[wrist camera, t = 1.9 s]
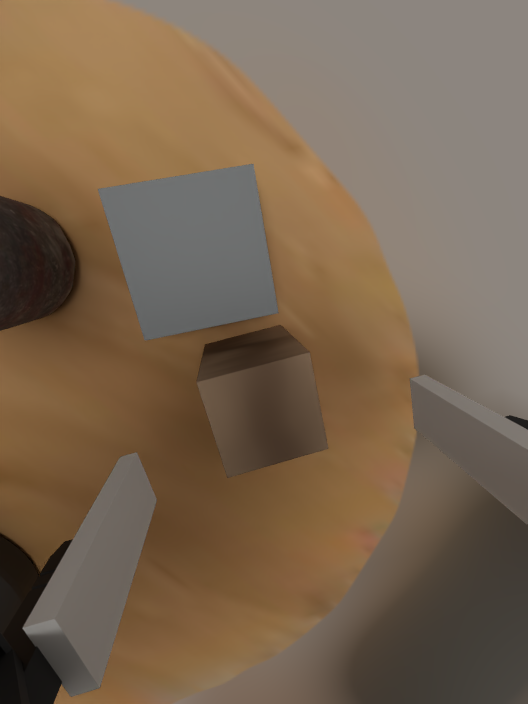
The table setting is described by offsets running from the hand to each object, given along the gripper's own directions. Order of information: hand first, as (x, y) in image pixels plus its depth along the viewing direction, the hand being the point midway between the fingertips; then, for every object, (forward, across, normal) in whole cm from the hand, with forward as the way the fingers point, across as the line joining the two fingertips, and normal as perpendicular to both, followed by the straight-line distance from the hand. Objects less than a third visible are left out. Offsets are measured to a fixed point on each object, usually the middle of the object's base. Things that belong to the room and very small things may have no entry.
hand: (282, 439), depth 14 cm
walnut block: (+10, -1, 0) cm, 10 cm away
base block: (+10, -2, +9) cm, 14 cm away
